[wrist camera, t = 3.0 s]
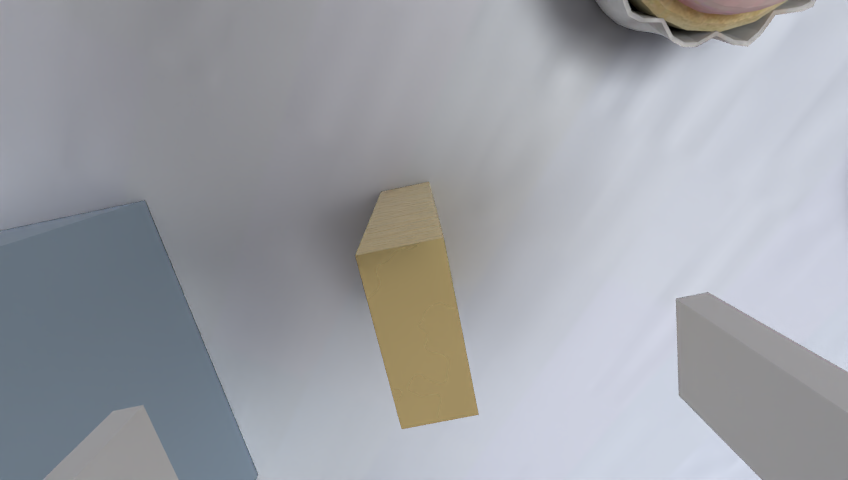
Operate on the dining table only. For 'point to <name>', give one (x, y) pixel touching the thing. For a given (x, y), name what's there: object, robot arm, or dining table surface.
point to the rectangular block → (415, 308)
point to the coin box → (104, 347)
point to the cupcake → (701, 18)
